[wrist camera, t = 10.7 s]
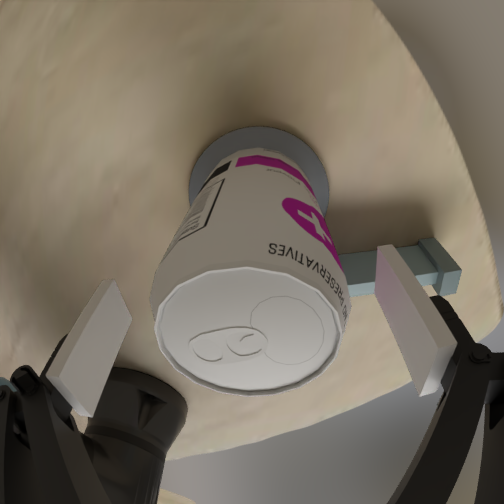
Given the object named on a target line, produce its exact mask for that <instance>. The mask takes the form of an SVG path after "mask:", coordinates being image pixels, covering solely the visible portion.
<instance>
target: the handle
mask: <svg viewBox="0 0 504 504" xmlns="http://www.w3.org/2000/svg"><path fill="white" fill-rule="evenodd" d="M395 249H396V250H397V252H398V253H399V254H400V256H401V257H402V259H403V260H404V261H405V263H406V264H407V266H408V267H409V268H410V270H411V271H412V273H413V274H414V276H415V277H416V278H417V280H418V281H419V283H420V284H421V286H426V285H432V286H433V288H434V289H435V291H436V293H437V294H438V295H440V296H445V295H450V294H455V293H456V291H457V287H458V284H459V280H460V276H461V272H462V269H461V268H460V267H459V266H458V265H457V263H456V262H455V261H454V260H453V258H452V257H451V256H450V255H449V254H448V252H447V251H446V250H445V249H444V248H443V247H442V245H441V244H440V243H439V242H438V241H437V240H436V239H435V238H427V239H419V241H418V245H415V246H407V247H399V248H395ZM338 257H339V260H340V263H341V266H342V269H343V271H344V274H345V277H346V281H347V286H348V291H349V296H350V297H354V296H362V295H369V294H375V293H374V290H375V278H376V264H377V250H375V251H367V252H359V253H350V254H342V255H338Z"/></svg>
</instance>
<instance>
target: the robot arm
mask: <svg viewBox="0 0 504 504" xmlns="http://www.w3.org/2000/svg"><path fill="white" fill-rule="evenodd" d="M374 293H375V295H376V298H377V300H378V302H379V304H380V306H381V308H382V310H383V312H384V315H385V317H386V319H387V321H388V323H389V325H390V328H391V330H392V332H393V334H394V337H395V339H396V341H397V344H398V346H399V348H400V350H401V353H402V355H403V358H404V360H405V362H406V365H407V367H408V370H409V372H410V375H411V377H412V380H413V382H414V384H415V387H416V390H417V392H418V395H419V397H420V396H423V395H427V394H430V393H434V392H436V391H437V389H438V387H439V385H440V383H441V384H442V386H443V389H444V392H443V394H442V396H441V398H440V400H439V402H438V403H437V405H438V407H437V409H436V411H435V414H434V416H433V418H432V421H431V423H430V425H429V427H428V430H427V432H426V434H425V436H424V438H423V440H422V442H421V444H420V446H419V449H418V450H417V452H416V454H415V456H414V458H413V460H412V462H411V464H410V466H409V467H408V469H407V471H406V473H405V475H404V477H403V478H402V480H401V482H400V484H399V485H398V487H397V488H396V490H395V492H394V493H393V495H392V496H391V498H390V500H389V501H388V503H387V504H446V502H447V500H448V498H449V496H450V494H451V492H452V490H453V488H454V486H455V483H456V481H457V479H458V477H459V474H460V472H461V469H462V467H463V465H464V462H465V459H466V457H467V454H468V452H469V449H470V446H471V443H472V440H473V438H474V435H475V431H476V428H477V425H478V422H479V418H480V415H481V412H482V408H483V405H484V404H485V422H484V423H485V424H484V438H483V450H482V460H481V467H480V474H479V481H478V487H477V492H476V498H475V503H474V504H504V352H503V353H492V352H491V351H490V349H488V348H487V347H486V346H484V345H482V344H479V343H475V342H474V340H473V338H472V337H471V335H470V334H469V332H468V330H467V329H466V327H465V326H464V324H463V323H462V321H461V320H460V319H459V318H458V315H457V314H456V312H454V309H453V308H452V306H451V305H450V303H449V302H448V301H447V300H445V299H444V298H443V297H441V296H440V295H437V296H432V297H429V296H428V295H427V293H426V292H425V290H424V289H423V287H422V286H421V284H420V283H419V281H418V280H417V278H416V277H415V276H414V274H413V273H412V271H411V270H410V268H409V267H408V266H407V264H406V263H405V261H404V260H403V259H402V257H401V256H400V254H399V253H398V252H397V250H396V249H395V248H394V246H393V245H392V244H390V245H383V246H377V264H376V278H375V290H374ZM131 322H132V317H131V315H130V313H129V311H128V309H127V307H126V304H125V302H124V300H123V298H122V296H121V293H120V291H119V289H118V286H117V284H116V282H115V280H114V279H109V280H102V282H101V283H100V285H99V286H98V288H97V289H96V291H95V292H94V294H93V295H92V297H91V298H90V300H89V302H88V303H87V305H86V306H85V308H84V309H83V311H82V313H81V314H80V316H79V317H78V319H77V321H76V322H75V324H74V326H73V327H72V329H71V331H70V332H69V334H66V335H65V336H64V337H63V338H62V339H61V340H60V341H59V343H58V345H57V346H56V348H55V351H54V352H53V353H52V355H51V357H50V359H49V360H48V362H47V364H46V366H45V368H44V369H43V371H42V373H41V375H40V377H39V376H38V375H37V374H36V373H35V371H34V370H33V369H32V368H31V367H30V366H29V365H24V366H21V367H19V368H18V369H16V370H15V371H14V373H13V374H12V376H11V378H10V381H9V380H7V379H5V378H3V377H0V504H157V501H158V495H159V490H160V484H161V479H162V474H163V468H164V463H165V458H166V454H167V451H168V450H169V448H170V447H171V445H172V444H173V442H174V441H175V439H176V437H177V436H178V434H179V433H180V431H181V429H182V428H183V426H184V424H185V422H186V417H187V412H188V407H187V404H186V402H185V400H184V399H183V398H182V396H181V395H180V394H179V393H178V392H176V391H175V390H174V389H173V388H171V387H170V386H168V385H167V384H165V383H163V382H161V381H160V380H158V379H156V378H153V377H151V376H149V375H146V374H143V373H140V372H137V371H133V370H129V369H123V368H112V366H113V364H114V361H115V359H116V356H117V354H118V352H119V349H120V347H121V344H122V342H123V340H124V337H125V335H126V333H127V331H128V328H129V326H130V324H131ZM72 408H73V409H74V410H75V411H76V412H77V413H78V414H79V415H81V416H87V417H88V424H87V427H86V430H85V433H84V434H83V433H81V432H80V431H78V428H77V425H76V422H75V420H74V417H73V416H72V415H71V414H70V412H71V410H72Z"/></svg>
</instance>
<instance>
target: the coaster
mask: <svg viewBox="0 0 504 504" xmlns="http://www.w3.org/2000/svg"><path fill="white" fill-rule="evenodd" d="M258 147H259V148H264V149H269V150H274V151H279V152H280V153H282V154H284V155H285V156H287V157H289V158H290V159H292V160H293V161H295V162H296V163H297V164H298V166H299V167H300V168H301V170H302V171H303V172H304V173H305V175H306V176H307V178H308V180H309V183H310V185H311V187H312V190H313V192H314V195H315V197H316V200H317V202H318V205H319V207H320V210H321V212H322V215H323V217H325V214H326V211H327V208H328V202H329V185H328V179H327V176H326V172H325V170H324V168H323V165H322V163H321V162H320V160H319V159H318V157H317V156H316V154H315V153H314V152H313V151H312V149H311V148H310V147H309V146H308V145H307V144H305V143H304V142H303V141H302V140H300V139H299V138H297V137H296V136H294V135H292V134H290V133H288V132H286V131H283V130H280V129H277V128H272V127H265V126H253V127H245V128H240V129H237V130H234V131H231V132H229V133H227V134H225V135H223V136H221V137H220V138H218V139H217V140H216V141H214V142H213V143H212V144H211V145H210V146H209V147H208V148H207V149H206V150H205V151H204V152H203V154H202V155H201V156H200V157H199V159H198V161H197V163H196V164H195V167H194V169H193V171H192V174H191V178H190V183H189V201H190V207H191V205H192V204H193V202H194V200H195V198H196V196H197V195H198V193H199V191H200V190H201V188H202V186H203V184H204V183H205V181H206V179H207V178H208V176H209V174H210V173H211V172H212V171H213V169H214V168H215V167H216V166H217V165H218V163H219V162H220V161H221V160H222V159H224V158H226V157H228V156H229V155H231V154H233V153H235V152H237V151H239V150H245V149H251V148H258Z"/></svg>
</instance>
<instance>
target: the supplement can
mask: <svg viewBox="0 0 504 504" xmlns="http://www.w3.org/2000/svg"><path fill="white" fill-rule="evenodd" d="M150 303H151V308H152V312H153V316H154V320H155V326H154V331H155V334H156V338H157V342H158V345H159V349H160V351H161V352H162V354H163V355H164V356H165V357H166V359H167V360H168V361H169V363H170V364H171V365H172V366H173V368H174V369H175V370H177V371H178V372H180V373H181V374H182V375H184V376H185V377H187V378H188V379H190V380H191V381H193V382H194V383H196V384H198V385H201V386H203V387H206V388H209V389H211V390H214V391H217V392H219V393H224V394H230V395H237V396H244V397H256V396H271V395H277V394H281V393H284V392H288V391H291V390H295V389H298V388H301V387H302V386H304V385H306V384H307V383H309V382H311V381H313V380H314V379H316V378H317V377H319V376H321V375H322V374H323V373H324V372H325V370H326V369H327V368H328V367H329V366H330V365H331V363H332V362H333V361H334V360H335V359H336V358H337V355H338V351H339V348H340V345H341V341H342V338H343V334H344V332H345V329H346V325H347V322H348V318H349V314H350V311H351V307H352V306H351V301H350V296H349V291H348V286H347V281H346V277H345V274H344V271H343V269H342V266H341V263H340V260H339V257H338V255H337V252H336V249H335V246H334V244H333V241H332V238H331V236H330V233H329V230H328V228H327V225H326V223H325V220H324V217H323V215H322V212H321V210H320V207H319V205H318V202H317V200H316V197H315V195H314V192H313V190H312V187H311V185H310V183H309V180H308V178H307V176H306V175H305V173H304V172H303V171H302V170H301V168H300V167H299V166H298V164H297V163H296V162H295V161H293V160H292V159H290V158H289V157H287V156H285V155H284V154H282V153H280V152H279V151H274V150H269V149H264V148H259V147H258V148H251V149H245V150H239V151H237V152H235V153H233V154H231V155H229V156H228V157H226V158H224V159H222V160H221V161H220V162H219V163H218V165H217V166H216V167H215V168H214V169H213V171H212V172H211V173H210V174H209V176H208V178H207V179H206V181H205V183H204V184H203V186H202V188H201V190H200V191H199V193H198V195H197V196H196V198H195V200H194V202H193V204H192V205H191V207H190V209H189V211H188V212H187V214H186V216H185V218H184V220H183V221H182V223H181V225H180V227H179V229H178V231H177V232H176V234H175V236H174V238H173V240H172V242H171V244H170V245H169V247H168V249H167V251H166V253H165V255H164V257H163V259H162V261H161V263H160V265H159V267H158V268H157V270H156V272H155V276H154V281H153V286H152V290H151V295H150Z"/></svg>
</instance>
